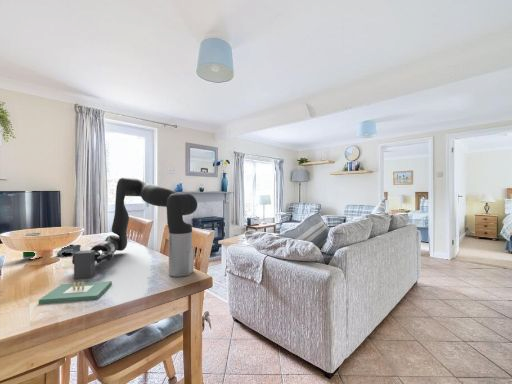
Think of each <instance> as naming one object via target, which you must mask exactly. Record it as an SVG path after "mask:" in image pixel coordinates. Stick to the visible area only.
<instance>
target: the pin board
mask: <svg viewBox="0 0 512 384" xmlns="http://www.w3.org/2000/svg"><path fill="white" fill-rule="evenodd" d="M112 284H113V281H111V280H106V281H92V282H91V281H90V282H85V281H81V282H80V281H77V283H76V281H74V282H72V283H62V284H59V286H57V287H56V288H54V289H52V290H51V291H50V292H48V293H46V294H45V295H43V296H42V297H41V298H39V299H38V305H39V304H40V305H42V304H52V303H55V304H56V303H64V302H78V301H89V300H91V301H92V300H98V299H99V298H100V297H101V296H102V295H103V294H104V293H105V292H106V291H107V290H108V289H109V288H110V287H111V286H112Z"/></svg>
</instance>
